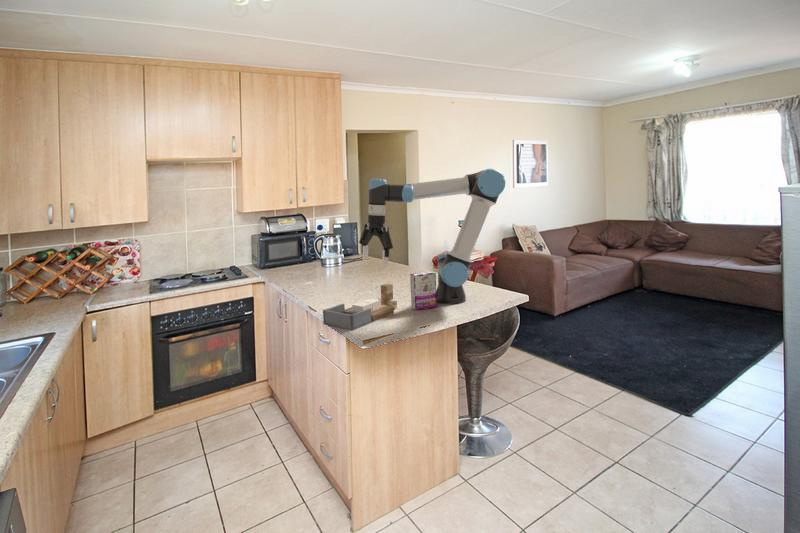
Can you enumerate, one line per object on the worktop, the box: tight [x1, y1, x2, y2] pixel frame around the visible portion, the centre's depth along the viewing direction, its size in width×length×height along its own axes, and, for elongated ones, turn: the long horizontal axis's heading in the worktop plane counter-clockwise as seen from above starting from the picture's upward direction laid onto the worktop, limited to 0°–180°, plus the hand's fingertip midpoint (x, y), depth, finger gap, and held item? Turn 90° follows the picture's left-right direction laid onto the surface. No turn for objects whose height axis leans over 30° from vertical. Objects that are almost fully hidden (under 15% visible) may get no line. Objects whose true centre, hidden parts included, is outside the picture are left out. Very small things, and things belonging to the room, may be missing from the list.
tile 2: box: [361, 298, 381, 310], centre depth 192 cm, size 6×6×3 cm
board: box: [345, 305, 395, 323], centre depth 191 cm, size 16×15×3 cm
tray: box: [322, 303, 373, 331], centre depth 180 cm, size 16×12×6 cm
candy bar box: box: [409, 270, 438, 311], centre depth 199 cm, size 11×5×16 cm, turn 114°
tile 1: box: [351, 301, 372, 312], centre depth 187 cm, size 6×6×3 cm
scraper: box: [377, 283, 398, 310], centre depth 201 cm, size 10×4×11 cm, turn 55°
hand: (374, 262), depth 195 cm, fingers open, 13 cm apart
